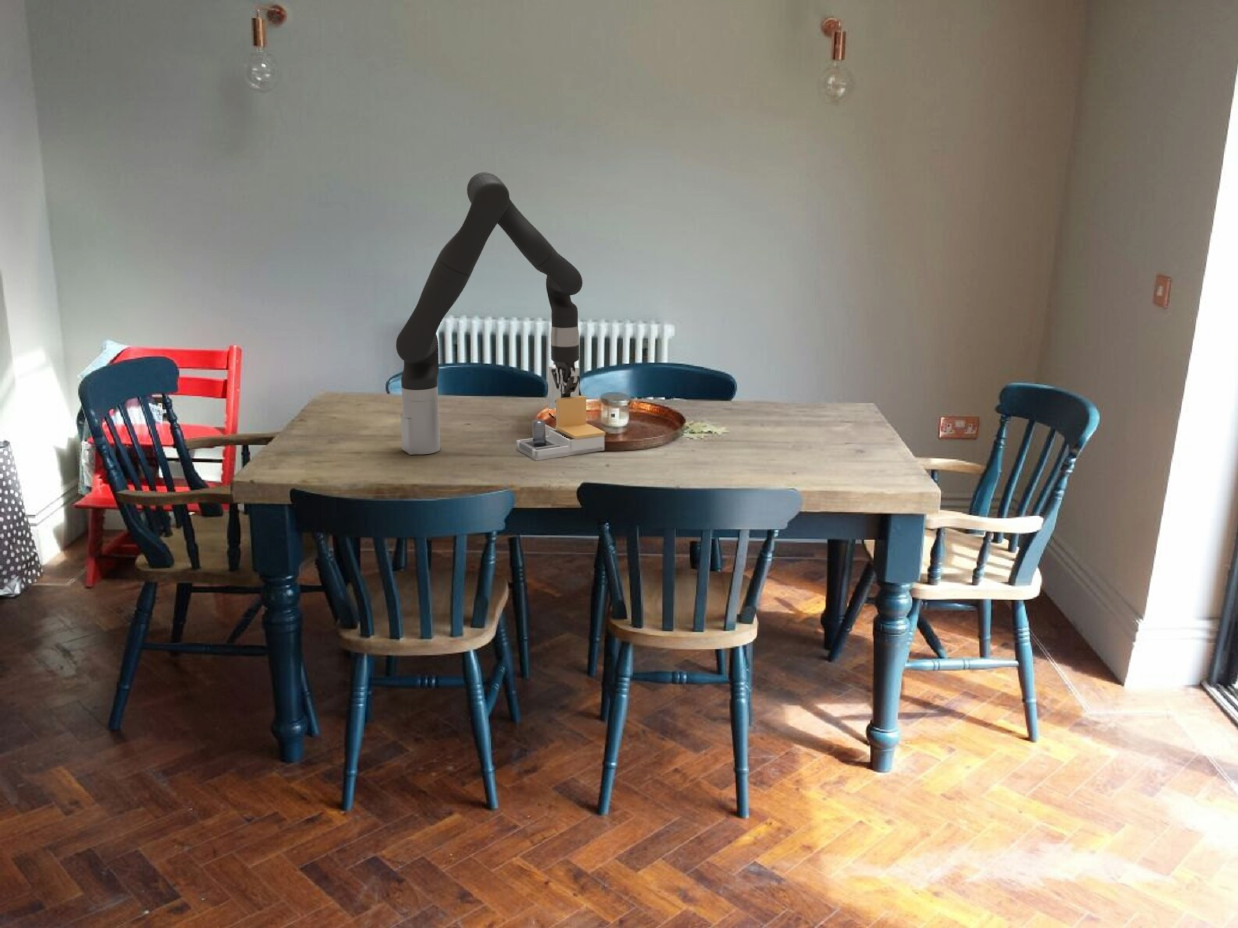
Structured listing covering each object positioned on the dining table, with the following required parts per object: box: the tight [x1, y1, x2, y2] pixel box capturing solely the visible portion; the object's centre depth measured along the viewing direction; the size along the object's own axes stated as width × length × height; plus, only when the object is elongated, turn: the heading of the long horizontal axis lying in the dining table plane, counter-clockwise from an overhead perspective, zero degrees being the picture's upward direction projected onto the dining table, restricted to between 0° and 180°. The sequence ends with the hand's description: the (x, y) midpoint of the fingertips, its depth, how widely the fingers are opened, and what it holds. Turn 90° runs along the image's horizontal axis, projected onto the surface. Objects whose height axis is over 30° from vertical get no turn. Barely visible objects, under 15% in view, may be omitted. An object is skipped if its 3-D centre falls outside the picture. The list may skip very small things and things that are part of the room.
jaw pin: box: [531, 419, 547, 448], centre depth 295 cm, size 4×4×8 cm
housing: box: [515, 423, 605, 461], centre depth 302 cm, size 20×20×4 cm
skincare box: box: [547, 364, 580, 409], centre depth 334 cm, size 8×6×15 cm
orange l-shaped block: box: [554, 395, 606, 439], centre depth 299 cm, size 9×12×8 cm
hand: (565, 406), depth 306 cm, fingers closed
